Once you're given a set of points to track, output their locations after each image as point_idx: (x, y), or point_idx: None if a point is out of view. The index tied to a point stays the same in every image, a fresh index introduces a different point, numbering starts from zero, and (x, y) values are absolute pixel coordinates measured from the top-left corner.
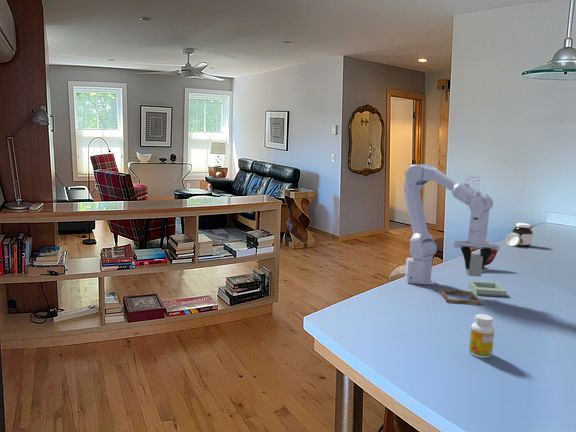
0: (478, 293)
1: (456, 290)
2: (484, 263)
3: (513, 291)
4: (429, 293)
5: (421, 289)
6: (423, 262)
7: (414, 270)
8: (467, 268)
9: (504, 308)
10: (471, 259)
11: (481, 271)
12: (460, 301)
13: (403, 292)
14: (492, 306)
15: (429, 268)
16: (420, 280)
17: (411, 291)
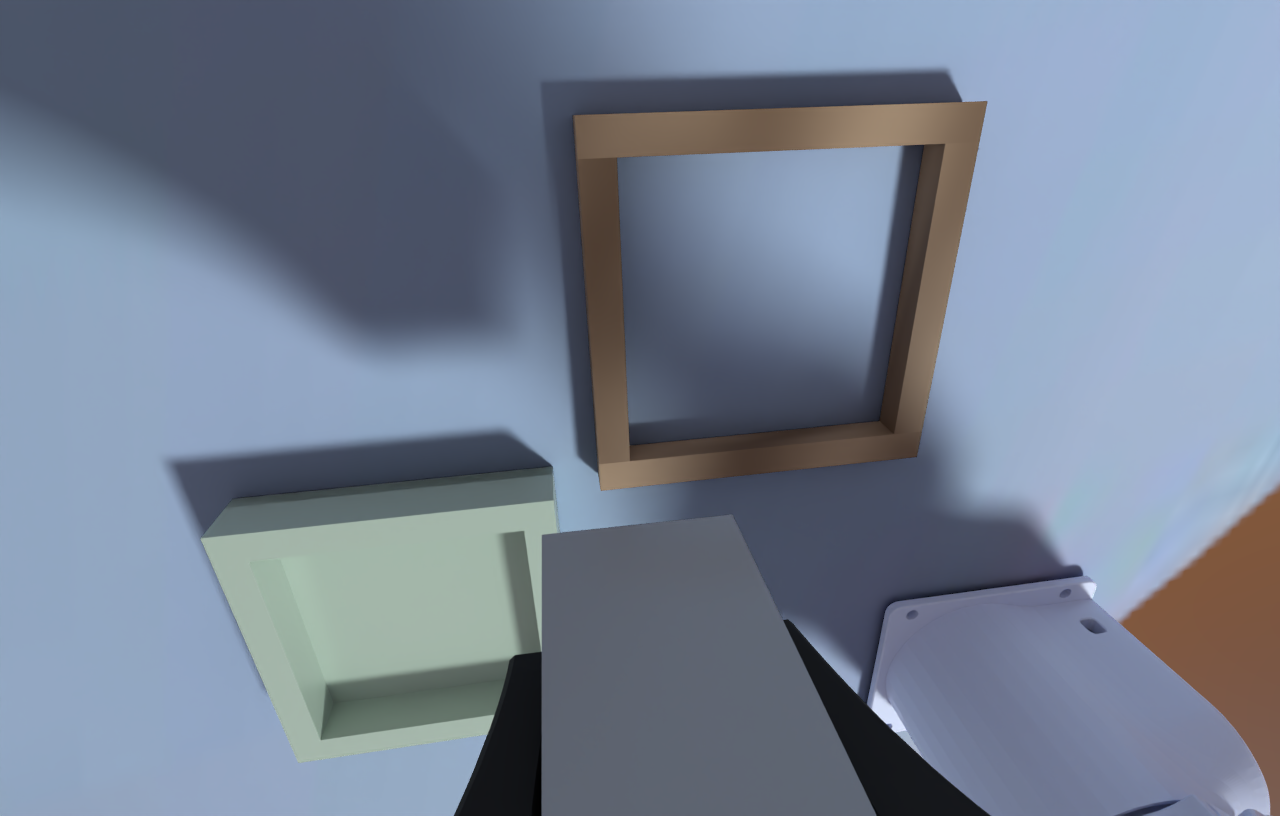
0: (529, 476)
1: (756, 466)
2: (484, 776)
3: (144, 681)
4: (1015, 367)
5: (1038, 461)
6: (1148, 785)
7: (1131, 689)
8: (789, 627)
9: (271, 28)
10: (842, 786)
11: (543, 598)
12: (821, 107)
13: (1250, 323)
14: (430, 80)
15: (1014, 743)
16: (1007, 617)
17: (1159, 376)
